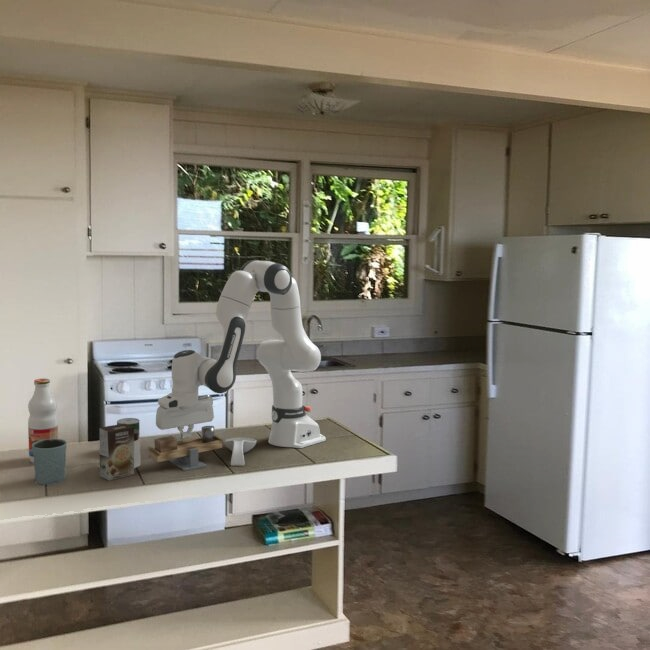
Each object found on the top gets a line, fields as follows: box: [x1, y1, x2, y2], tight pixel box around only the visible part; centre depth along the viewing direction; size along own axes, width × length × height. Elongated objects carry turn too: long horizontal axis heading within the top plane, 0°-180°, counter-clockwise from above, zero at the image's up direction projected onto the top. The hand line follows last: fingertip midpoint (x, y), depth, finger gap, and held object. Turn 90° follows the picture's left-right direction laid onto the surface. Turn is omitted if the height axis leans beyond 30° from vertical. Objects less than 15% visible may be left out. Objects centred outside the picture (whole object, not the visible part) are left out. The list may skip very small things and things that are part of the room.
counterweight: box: [201, 425, 216, 443], centre depth 247 cm, size 4×4×5 cm
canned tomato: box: [116, 417, 141, 440], centre depth 255 cm, size 8×8×11 cm
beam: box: [148, 434, 223, 463], centre depth 242 cm, size 24×9×3 cm, turn 127°
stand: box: [167, 439, 207, 472], centre depth 243 cm, size 8×14×6 cm, turn 37°
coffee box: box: [99, 424, 135, 481], centre depth 229 cm, size 9×6×16 cm
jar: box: [134, 429, 141, 469], centre depth 238 cm, size 9×8×12 cm
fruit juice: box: [27, 378, 59, 464], centre depth 241 cm, size 9×9×28 cm
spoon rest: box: [223, 437, 258, 467], centre depth 253 cm, size 24×12×7 cm, turn 5°
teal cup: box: [32, 438, 67, 486], centre depth 223 cm, size 10×10×12 cm
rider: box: [154, 435, 178, 453], centre depth 238 cm, size 6×5×4 cm
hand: (185, 437), depth 242 cm, fingers closed
